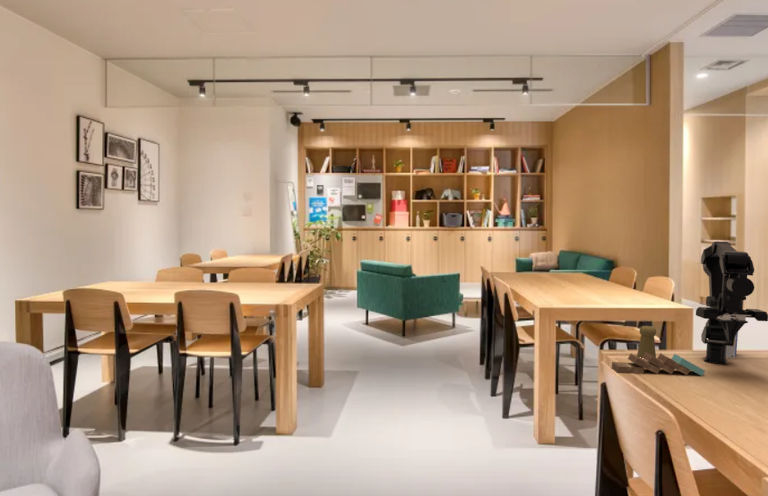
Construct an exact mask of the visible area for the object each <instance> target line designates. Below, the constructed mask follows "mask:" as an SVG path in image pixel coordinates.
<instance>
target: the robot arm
mask: <svg viewBox="0 0 768 496" xmlns="http://www.w3.org/2000/svg"><path fill="white" fill-rule="evenodd" d="M700 263H701V265H702V269H703V272H704V273H705V274H706V276H707V277H708V287H709V288H708V289H709V290H708V291H709V296H706V297H705V298H706V299H705V304H706V305H705V306H706V307H705V306H699V307H698V308H696V310H695V316H696V317H699V318H702V319H707V320H706V322H705V325H704V327H703V330H702V332H701V342H702V343H703V344H705V345H706V351H705V356H704V358H703V362H706V363H707V362H708V363H713V364H718V365H727V363H728V358H726V347H727V346H733V344H734V338H735V336H736V334H737V333H738V334H739V331H740V330H741V329H742V328H743V326H745V324H748V323H749V321H748V320H746V319H747V318H748V319H749V318H753V319H755V320H756V321H757V322H768V312H767V311H764V310H761V309H758V308H757V309H756V308H746V309H744V301H747V297H748V296H751V294H753V293H754V290H755V284H754V282H753V281H752V280H751V279H750V278H748V276H751V277H752V276H754V272H755V267H754V266H755V265H754V262H753V260H752V257H751V256H750V255H749V253H747V252H745V251H739V250H736V249H735V248H734V247H733V246H732V245H731V243H730V242H728V241H713V242H712V243H711V245H710V246H708V247H706V248H705V249H703V251H702V253H701V257H700Z"/></svg>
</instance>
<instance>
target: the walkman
mask: <svg viewBox="0 0 768 496" xmlns="http://www.w3.org/2000/svg"><path fill="white" fill-rule="evenodd" d="M738 335H739V332H738V333H737V334H736V336H735V338H734V344H733V346H727V347H726V359H735V358H736V355H737V351H738V349H737V348H738V347H737V346H738Z"/></svg>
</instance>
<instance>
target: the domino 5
mask: <svg viewBox="0 0 768 496" xmlns="http://www.w3.org/2000/svg"><path fill="white" fill-rule="evenodd" d="M671 359H672V360H674V361H676V362H677V363H679V364H681V365H683V366H684V367H686V368H688V369H690V371H692V372H693V373H695V374H697V375H699V376H700V377H703V375H704V373H705V372H706V370H705V369H703V368H701V367H699V366H698V365H696V364H694V363H692V362H691V361H689V360H688V359H686V358H683V357H681V356H680V355H677V354H676V353H674V354H673V355H672V357H671Z"/></svg>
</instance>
